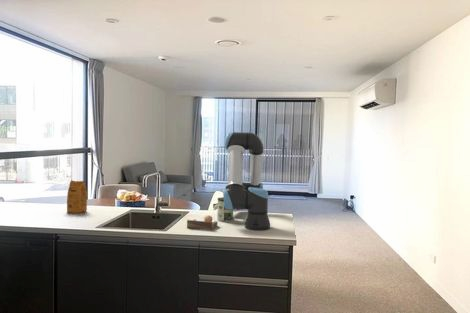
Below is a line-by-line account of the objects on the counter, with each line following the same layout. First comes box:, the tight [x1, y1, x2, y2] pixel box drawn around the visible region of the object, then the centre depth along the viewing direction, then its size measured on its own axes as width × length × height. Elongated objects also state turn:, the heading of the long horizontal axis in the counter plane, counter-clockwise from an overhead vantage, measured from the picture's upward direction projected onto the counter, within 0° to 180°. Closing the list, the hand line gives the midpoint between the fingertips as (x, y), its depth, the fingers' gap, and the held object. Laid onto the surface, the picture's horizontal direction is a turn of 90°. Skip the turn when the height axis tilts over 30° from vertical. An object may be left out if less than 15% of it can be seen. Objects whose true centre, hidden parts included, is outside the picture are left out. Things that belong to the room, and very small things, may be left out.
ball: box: [203, 214, 213, 222], centre depth 217 cm, size 5×5×5 cm
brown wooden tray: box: [186, 219, 218, 231], centre depth 207 cm, size 10×15×4 cm
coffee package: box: [66, 180, 88, 214], centre depth 245 cm, size 10×12×22 cm
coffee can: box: [216, 196, 234, 223], centre depth 227 cm, size 10×10×14 cm
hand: (224, 208), depth 225 cm, fingers open, 13 cm apart
